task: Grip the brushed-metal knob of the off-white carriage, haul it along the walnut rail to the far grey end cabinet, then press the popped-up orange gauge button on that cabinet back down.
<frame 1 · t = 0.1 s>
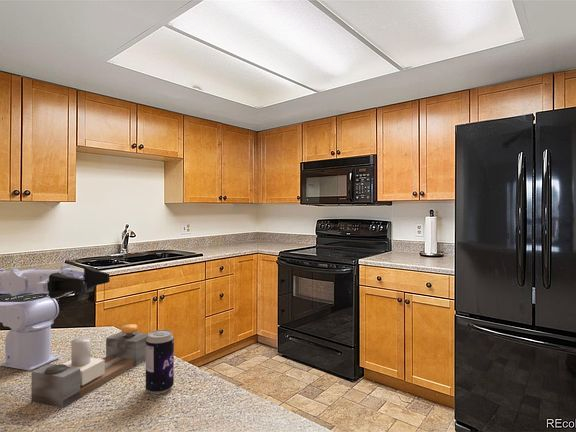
hand: (95, 281, 84), 22 cm above the counter, tool horizontal, fingers open, 7 cm apart
carriage: (80, 358, 78), point 6 cm above the counter, slide at -4.0 cm
rail: (95, 378, 82), on the counter
beverage can: (159, 390, 78), on the counter
gauge button: (129, 332, 93), point 7 cm above the counter, slide at 0.0 cm
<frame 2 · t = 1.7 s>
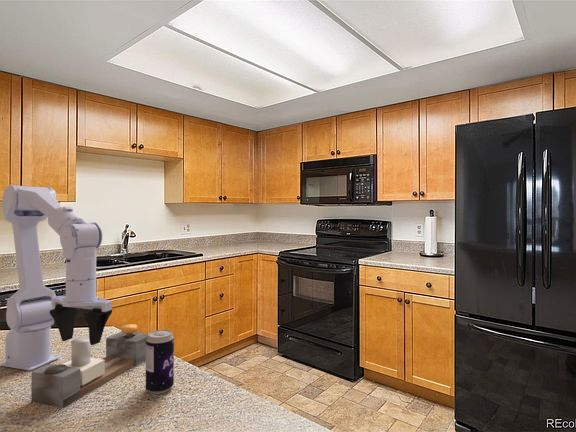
hand: (81, 341, 78), 10 cm above the counter, tool pointing down, fingers open, 7 cm apart
nothing on the counter moved.
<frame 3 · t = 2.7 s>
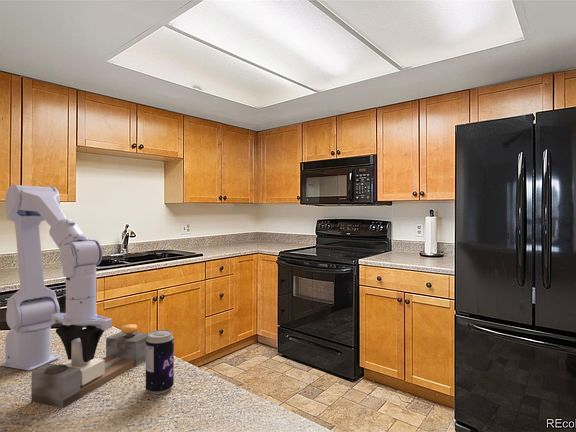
hand: (80, 359, 78), 6 cm above the counter, tool pointing down, fingers closed on carriage, 4 cm apart
carriage: (80, 358, 78), point 6 cm above the counter, slide at -4.0 cm, touching gripper
everything else where it was.
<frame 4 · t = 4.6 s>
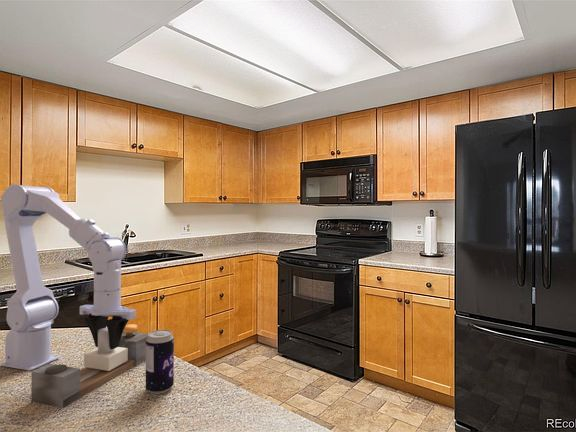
hand: (107, 346, 86), 6 cm above the counter, tool pointing down, fingers closed on carriage, 4 cm apart
carriage: (106, 346, 85), point 6 cm above the counter, slide at 3.2 cm, touching gripper
everything else where it was.
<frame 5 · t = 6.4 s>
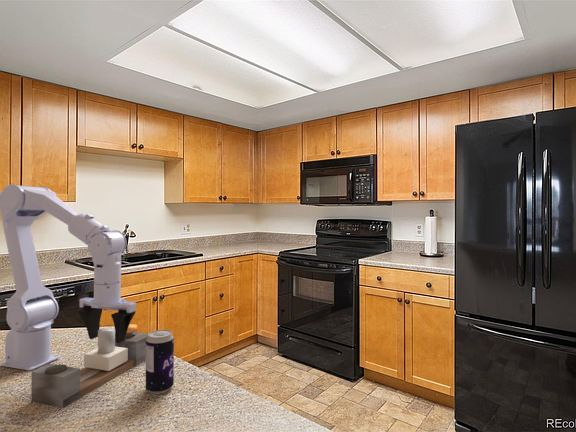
hand: (107, 339, 86), 8 cm above the counter, tool pointing down, fingers open, 7 cm apart
carriage: (106, 346, 85), point 6 cm above the counter, slide at 3.2 cm
everything else where it was.
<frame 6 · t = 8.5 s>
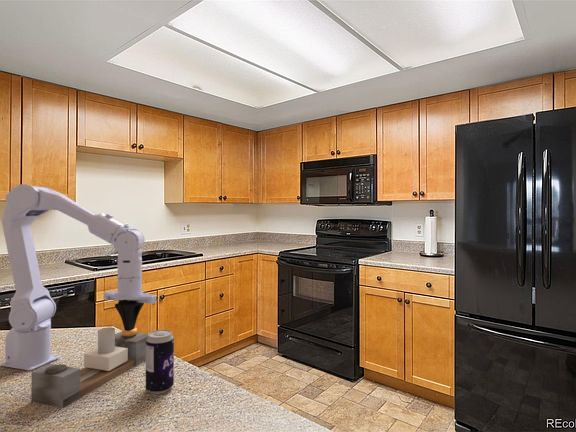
hand: (129, 329, 93), 8 cm above the counter, tool pointing down, fingers closed, pressing on gauge button
gauge button: (129, 335, 93), point 6 cm above the counter, slide at 0.8 cm, touching gripper
everything else where it was.
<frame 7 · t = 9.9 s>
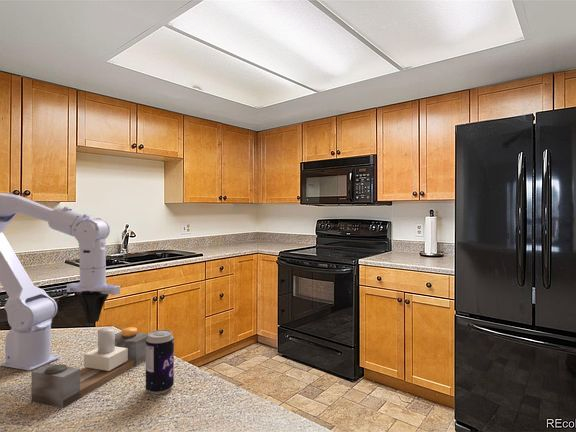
hand: (93, 322, 90), 10 cm above the counter, tool pointing down, fingers closed
gauge button: (129, 335, 93), point 6 cm above the counter, slide at 0.8 cm
everything else where it was.
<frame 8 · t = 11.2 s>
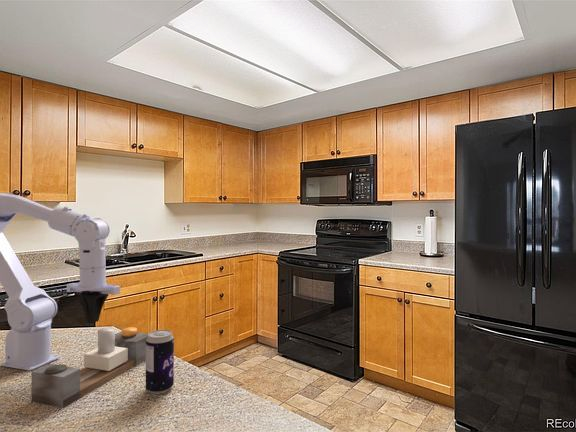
hand: (93, 321, 90), 10 cm above the counter, tool pointing down, fingers closed
nothing on the counter moved.
at the end: carriage slide at 3.2 cm; gauge button slide at 0.8 cm; the gripper is holding nothing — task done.
